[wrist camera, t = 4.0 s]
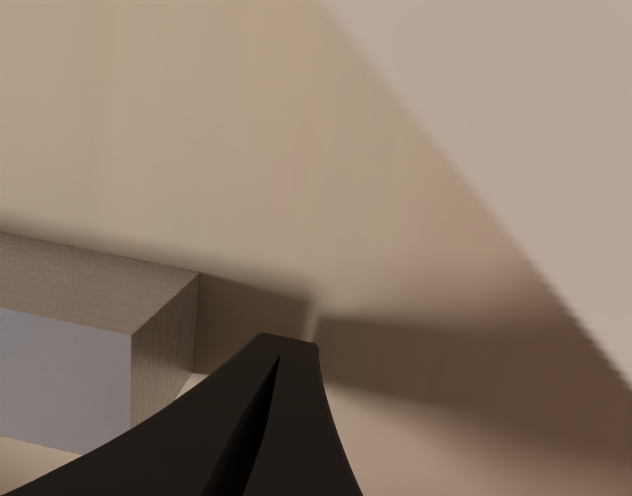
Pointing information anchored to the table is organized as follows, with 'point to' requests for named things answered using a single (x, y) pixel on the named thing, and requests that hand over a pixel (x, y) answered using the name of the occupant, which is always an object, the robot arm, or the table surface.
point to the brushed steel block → (89, 342)
